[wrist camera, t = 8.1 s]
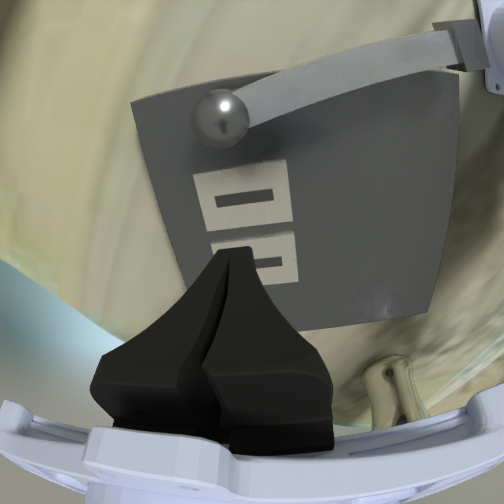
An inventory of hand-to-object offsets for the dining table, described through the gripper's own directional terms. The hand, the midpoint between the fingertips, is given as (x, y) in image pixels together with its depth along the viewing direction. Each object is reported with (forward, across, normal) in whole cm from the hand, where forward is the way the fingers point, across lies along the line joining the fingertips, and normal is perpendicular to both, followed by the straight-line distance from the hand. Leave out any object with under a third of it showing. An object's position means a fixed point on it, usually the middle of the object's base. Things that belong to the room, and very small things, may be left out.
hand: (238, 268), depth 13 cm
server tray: (+8, -4, +2) cm, 10 cm away
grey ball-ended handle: (+4, -5, -7) cm, 10 cm away
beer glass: (+9, -12, +23) cm, 27 cm away
